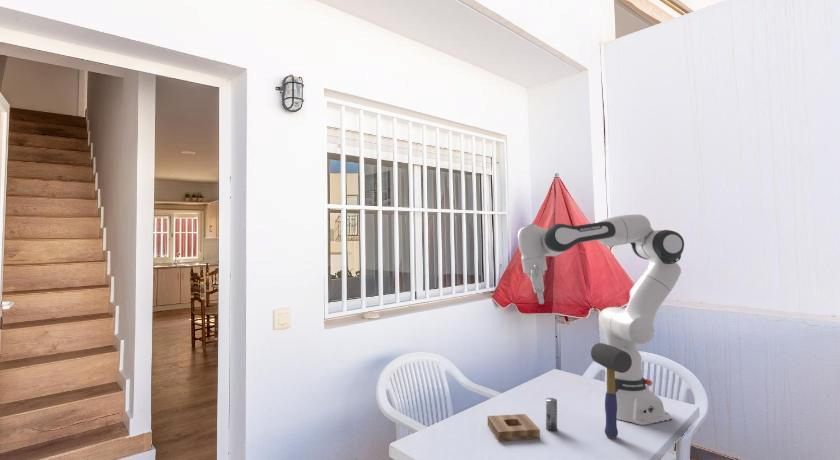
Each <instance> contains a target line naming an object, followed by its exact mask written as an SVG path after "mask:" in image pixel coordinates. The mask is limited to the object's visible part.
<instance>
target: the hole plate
mask: <svg viewBox="0 0 840 460" xmlns="http://www.w3.org/2000/svg"><path fill="white" fill-rule="evenodd" d="M487 426H488V428H489V429H490V431H491V432H492V433H493V435H494V437H495V439H497V441H498V442H505V441H506V442H508V441H522V440H523V441H525V440H538V439H539V440H540V438H541V437H540V436H541V435H540V434H541V433H540V432H541V429H540V428H539V426H537V425H536V424H535V423H534V421H533V420H532V419H531V418H530V417H529V416H528V415H527V414H526V413H519V414H503V415H502V414H501V415H500V414H499V415H487Z"/></svg>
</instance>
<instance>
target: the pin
mask: <svg viewBox="0 0 840 460" xmlns="http://www.w3.org/2000/svg"><path fill="white" fill-rule="evenodd" d="M545 418H546V419H545V424H546V425H545V427H546V428H545V429H546V430H547V431H549V432H557V431H558V400H557V398H554V397H547V398H545Z"/></svg>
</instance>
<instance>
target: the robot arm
mask: <svg viewBox="0 0 840 460" xmlns="http://www.w3.org/2000/svg"><path fill="white" fill-rule="evenodd" d="M593 241H598V242H600V243H601V245H603V246H605V247H612V246H613V247H615V246H623V245H628V244H630V245H631V248H632V251H633V252H634V254H635V256H637V257H638V258H640V259H644V260H648V265H647V267H646V269H645V270H644V271H643V273H642V274H641V275H640V276H639V278H638V279H637V281H636V282H635V283H634V285H633V286H632V287H631V288H630V290H629V299H628V300H629V301H628V303H627V305H626V307H624V308H623V307H622V308H621V307H617V306H610V307H605V308H603V309H602V310H601V311H600V312H599V315H598V322H599V326H600V327H601V328H602V331H603V335H604V338H605V339H604V340H605V344H607V345H611V346H614V347H616V348H618V349H621V350H623V351H625V352H627V353H628V354H629V355H630V356H631V359H632V365H631V367H630V369H629V370H628V371H627V372H624V373H620V372H617V371H615V393H616V397H617V416H616V418H617V420H620V421H624V422H630V423H633V424H636V425H639V426H644V425H651V424H655V422H656V423H661V422H660V421H662V422H665V421H664V420H667V421H669V420H668V419H671V418H672V415H671V414H670V412H668V411H666V410H665V407H664V404H663V400H662V399H661V398H660V397H659V396H657V394H655V393H654V392H652V391H651V390H650V389H649V388H647V386H648V387H651V386H652V385H653V381H652V380H650V379H648V378H646V379H645V377H643V375H642V373H643V372H642V371H643V366H642V356H641V353H640V352H639V350H638V348H637V344H641V345H643V344H647V343H649V342H650V341H651V340H652V339H653V337H654V335H655V325H654V320H655V318H656V314H657V312H658V310H659V308H660V306H661V305H662V304H663V302H664V301H665V300H666V298H667V297H668V295H670V292H671V291H672V290H673V288H674V287H675V285H676V284H677V282H678V281H679V278H680V275H681V273H682V272H681V271H682V269H681V267H680V265H679V264H678V262H679V261H680V260H681V258H682V254H683V252H684V250H685V240H684V238H683V236H682V235H681V234H680V233H679V232H677V231H674V230H670V229H664V230H663V229H662V230H661V229H660V230H654V229H653V228H652V226H651V221H650V220H649V219H648V217H647V216H645V215H642V214H624V215H618V216H612V217H608V218H605V219H603V220H600V221H597V222H592V223H587V224H581V225H572V224H571V225H570V224H566V223H555V224H553V225H551V226H550V227H549V228H548V229H546V228H543V227H541V226H538V224H536V223H534V224H528V225H525V226H523V227H521V228H520V229H519V230H518V232H517V243H518V250H519V252H520V255H521V259H520V261H521V265H522V269H523V271H522V272H523V274H526V275H527V277H528V278H529V279H530V282H531V286H532V289H533V291H534V293H535V294H536V295H537V299H538V304H539V305H544V304H545V299H544V292H545V285H544V284H545V283H544V275H545V274H546V273H545V272H546V271H547V270H548V266H547V265H548V264H547V261H546V257H557V256H559V255H561V254H563V253H564V252H566V251H568V250H571V248H572V247H574V246H576V245H577V244H581V243H589V242H593Z"/></svg>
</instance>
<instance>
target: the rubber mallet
mask: <svg viewBox="0 0 840 460" xmlns="http://www.w3.org/2000/svg"><path fill="white" fill-rule="evenodd" d="M590 357H591V359H592V361H594V363H596V364H598V365H600V366H602V367H604V368H606V392H605V397H604V412H605V427H604V433H605V435H606V437H607V438H609V439H616V438H617V436H618V434H619V431H618V424H617V420H618V419H617V418H616V416H617V397H616V393H615V371H617V372H620V373H624V372H627V371H628V370H629V369H630V367H631V365H632V359H631V356H630V355H629V354H628V353H627V352H625V351H623V350H621V349H618V348H616V347H614V346H611V345H607V343H603V342H598V343H596V344H594V345H593V346H592V347H591V350H590Z"/></svg>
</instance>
